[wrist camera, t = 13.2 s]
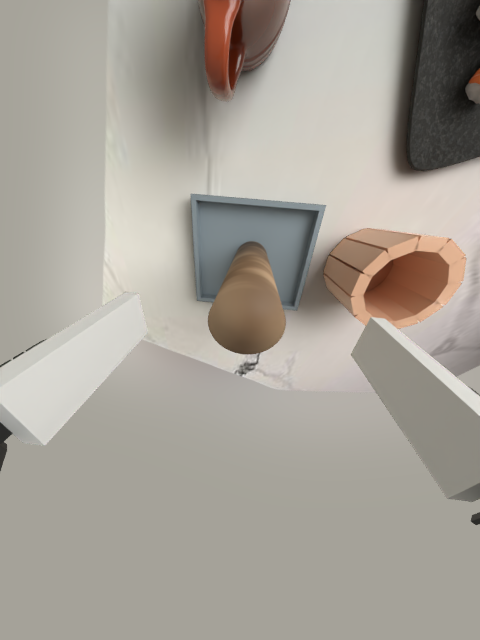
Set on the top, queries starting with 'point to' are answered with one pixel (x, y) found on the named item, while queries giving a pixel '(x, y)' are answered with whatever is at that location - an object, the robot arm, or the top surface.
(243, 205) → the tray
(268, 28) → the mug
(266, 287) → the peg
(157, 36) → the top surface
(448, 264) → the cup
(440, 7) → the sushi plate
